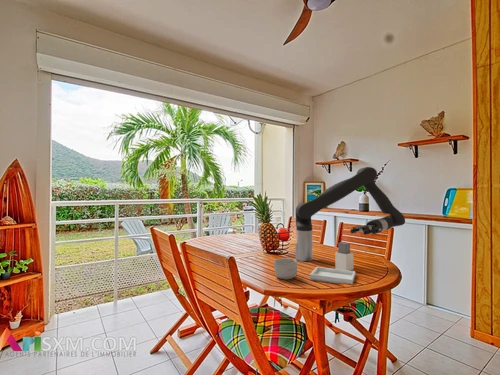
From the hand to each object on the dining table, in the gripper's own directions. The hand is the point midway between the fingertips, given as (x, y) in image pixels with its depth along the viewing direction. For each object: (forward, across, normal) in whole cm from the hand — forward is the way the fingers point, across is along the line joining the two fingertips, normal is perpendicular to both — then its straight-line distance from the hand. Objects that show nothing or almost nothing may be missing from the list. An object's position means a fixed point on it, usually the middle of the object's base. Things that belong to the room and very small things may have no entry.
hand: (357, 232), depth 144 cm
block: (+13, 0, +16) cm, 21 cm away
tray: (+28, +6, +15) cm, 32 cm away
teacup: (+45, -6, +12) cm, 47 cm away
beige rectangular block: (+13, 0, +17) cm, 21 cm away
